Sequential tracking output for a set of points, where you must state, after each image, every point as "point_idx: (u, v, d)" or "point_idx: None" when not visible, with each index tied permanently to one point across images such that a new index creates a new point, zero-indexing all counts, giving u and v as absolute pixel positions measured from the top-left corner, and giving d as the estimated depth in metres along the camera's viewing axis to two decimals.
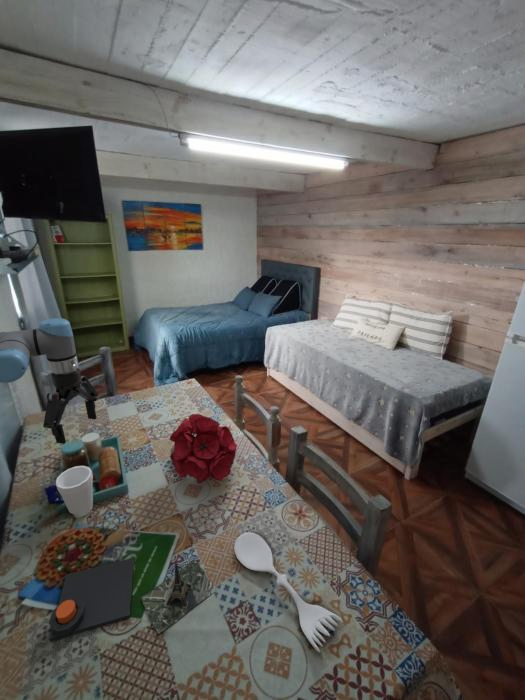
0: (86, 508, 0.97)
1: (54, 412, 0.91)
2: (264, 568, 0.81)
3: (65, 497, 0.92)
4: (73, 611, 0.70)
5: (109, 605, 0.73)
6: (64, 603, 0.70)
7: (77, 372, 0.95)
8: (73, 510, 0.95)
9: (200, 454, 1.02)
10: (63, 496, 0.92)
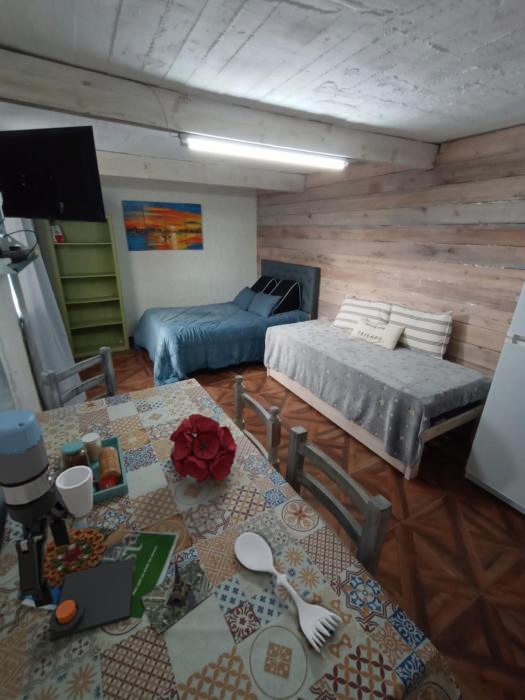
0: (86, 508, 0.97)
1: (36, 565, 0.55)
2: (264, 568, 0.81)
3: (65, 497, 0.92)
4: (73, 611, 0.70)
5: (109, 605, 0.73)
6: (64, 603, 0.70)
7: (54, 486, 0.60)
8: (73, 510, 0.95)
9: (200, 454, 1.02)
10: (63, 496, 0.92)
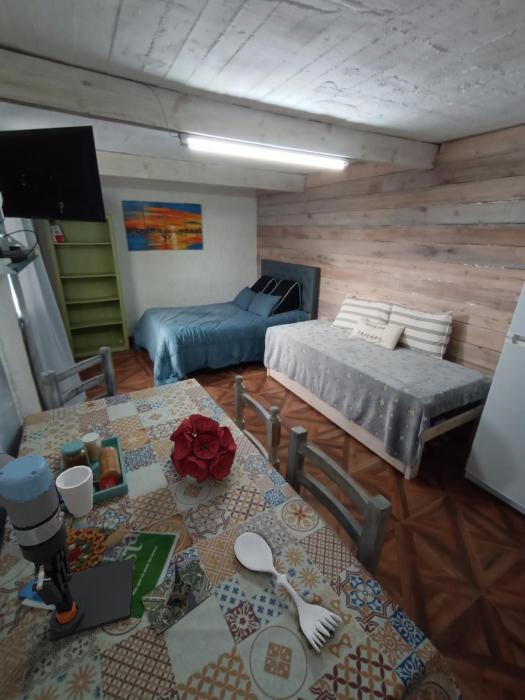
0: (86, 508, 0.97)
1: (55, 590, 0.62)
2: (264, 568, 0.81)
3: (65, 497, 0.92)
4: (73, 611, 0.70)
5: (109, 605, 0.73)
6: None
7: (64, 525, 0.63)
8: (73, 510, 0.95)
9: (200, 454, 1.02)
10: (63, 496, 0.92)
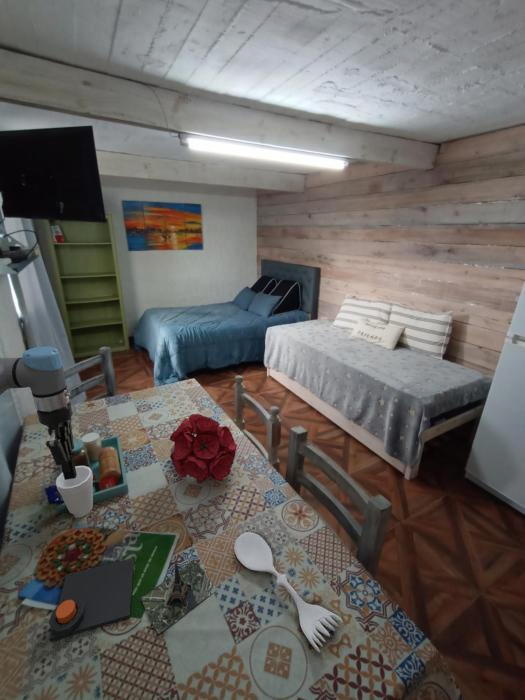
0: (86, 508, 0.97)
1: (63, 452, 0.83)
2: (264, 568, 0.81)
3: (65, 497, 0.92)
4: (73, 611, 0.70)
5: (109, 605, 0.73)
6: (64, 603, 0.70)
7: (70, 404, 0.84)
8: (73, 510, 0.95)
9: (200, 454, 1.02)
10: (63, 496, 0.92)
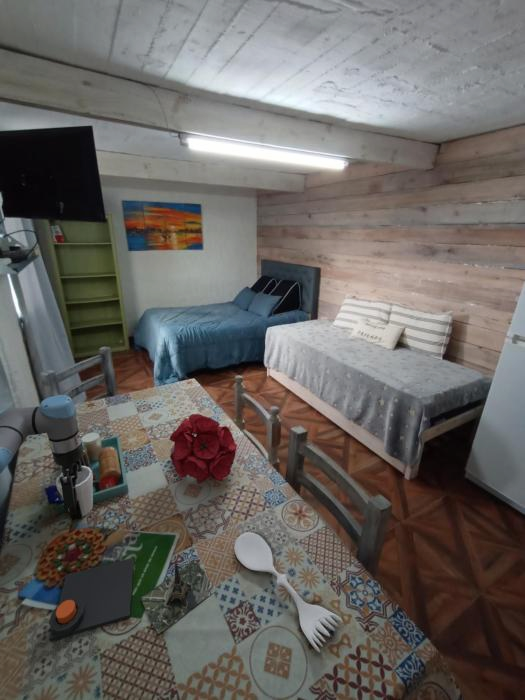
0: (86, 508, 0.97)
1: (73, 492, 0.89)
2: (264, 568, 0.81)
3: None
4: (73, 611, 0.70)
5: (109, 605, 0.73)
6: (64, 603, 0.70)
7: (81, 444, 0.93)
8: None
9: (200, 454, 1.02)
10: None
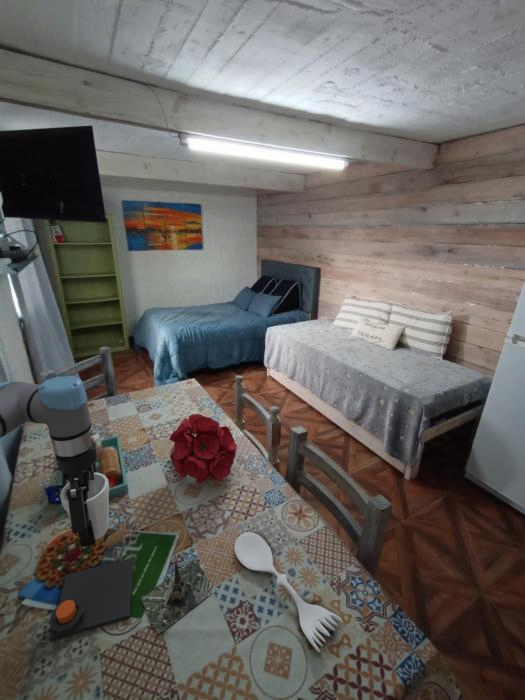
0: (100, 529, 0.73)
1: (84, 509, 0.65)
2: (264, 568, 0.81)
3: None
4: (73, 611, 0.70)
5: (109, 605, 0.73)
6: (64, 603, 0.70)
7: (95, 444, 0.69)
8: None
9: (200, 454, 1.02)
10: None
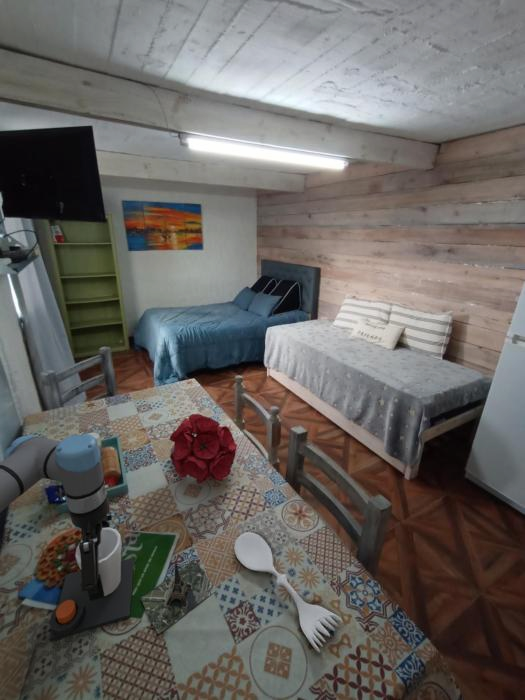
0: (113, 583, 0.75)
1: (94, 564, 0.66)
2: (264, 568, 0.81)
3: None
4: (73, 611, 0.70)
5: (109, 605, 0.73)
6: (64, 603, 0.70)
7: (107, 497, 0.70)
8: None
9: (200, 454, 1.02)
10: None
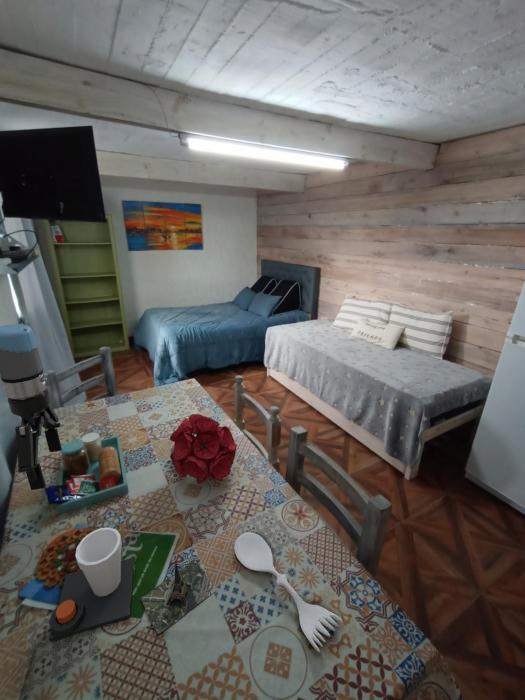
0: (113, 583, 0.75)
1: (31, 448, 0.68)
2: (264, 568, 0.81)
3: (88, 574, 0.71)
4: (73, 611, 0.70)
5: (109, 605, 0.73)
6: (64, 603, 0.70)
7: (47, 392, 0.73)
8: (98, 588, 0.74)
9: (200, 454, 1.02)
10: (85, 573, 0.71)
